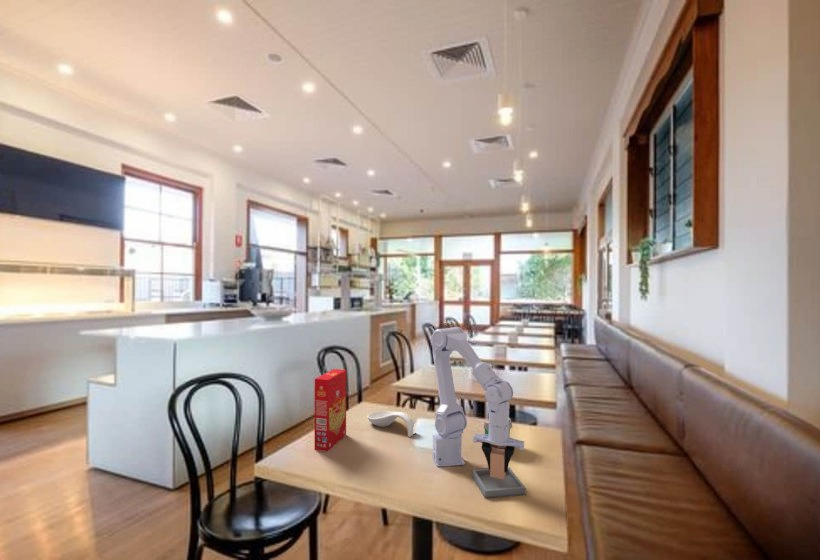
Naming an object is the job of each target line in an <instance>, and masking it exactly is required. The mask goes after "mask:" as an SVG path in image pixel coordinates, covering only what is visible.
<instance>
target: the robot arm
mask: <svg viewBox="0 0 820 560" xmlns="http://www.w3.org/2000/svg"><path fill="white" fill-rule="evenodd" d="M467 339H468V338H467V334H466V332H464V330H463V329H462V328H461V327H460V326H454V327H447V328H437V329H435V330H434V331H433V333H432V335H431V336H430V340H431V347H432V357H433V364H434V370H435V371H434V372H435V377H436V383H437V390H438V397H439V403H440V404H439V405H440V406H439V407H438V408H437V409H436V411H435V413H434V416H435V419H434V420H435V421H434V427H435V430H436V432H437V433H435V434H433V435H432V459H433V460H434V463H435V466H436V467H449V466H450V467H453V466H465V465H466V462H465V461H464V459H463V457H462V453H463V452H462V450H463V449H462V446H463V445H462V441H463V440H462V439H463V435H462V434H464V430H465V429H467V426H468V420H467V419H468V418H467V417H466V415H465V413H464V408H463V406H461V405H460V404H458V402H457V396H456V390H455V384H454V379H453V378H454V377H453V376H454V375H453V373H452V365H451V359H450V356H451V354H452V353H453V351H455V352H458V354H459V355H460V356H461V357H462V358H463V360H465V361H466V363H467V364H468V365H469V366H470V367H471V368H472V375H473V377H474V378H475V380H476V381H477V383H479V385H480V387H482V388H483V391H484V397H485V399H486V402H487V408H488V423H489V434H485V433H483V434H482V433H474V435H473V440H472V441H473V443H475V444H477V443H481V450H482V452H483V454H484V457H485V459H486V463H487V467H488V468H487V469H489V470H490V453H491V451H492V444H493V445H499V446H505V447H506V448H505V468H504V471H505V472H506V473H507V471H508V467H509V463H510V461H511V458H512V457H513V454H514V452H515V450H516V449H519V450H520V451H524V450H525V440H521V439H520V440H519V439H517V438H513V437H510V435H509V418H510V417H509V415H510V410H509V409H510V401H511V400H512V398H513V396H514V390H513V387H512V386H511V383H509V382H508V381H506V380H503V379H502V378H501V377H500V376H499V375H497V373H496V372H495V371H494V370H493V368H492V366H491V364H490V363H488V362H485V361H484V362H483V361H482V360H481V359H480V357H479V356H478V355H477V353H476V352H475V349H473V347H472V345H470V342H469V341H468V340H467ZM508 435H509V437H508Z"/></svg>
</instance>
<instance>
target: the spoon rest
mask: <svg viewBox="0 0 820 560" xmlns="http://www.w3.org/2000/svg"><path fill="white" fill-rule="evenodd" d="M366 417H367V419H368V421H369V422H370V423H371V424H372V425H375V426H376V427H379V428H380V427H382V428H385V427H388V426H390V425H391V424H393V423H394V421H396V419H397V418H400V419H402V420H403V421H404V423H405V424H406V427H407V428H406V429H407V437H408V438H410V437H413V436H414V435H413V427H414V424H415V423H416V422H414V421H415V420H413V419H412V418H411V416H410V415H409V414H407V413H406V412H404V411H393V410H378V411H374V412H371V413H369V414H368V415H367V416H366ZM415 425H416V424H415Z"/></svg>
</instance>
